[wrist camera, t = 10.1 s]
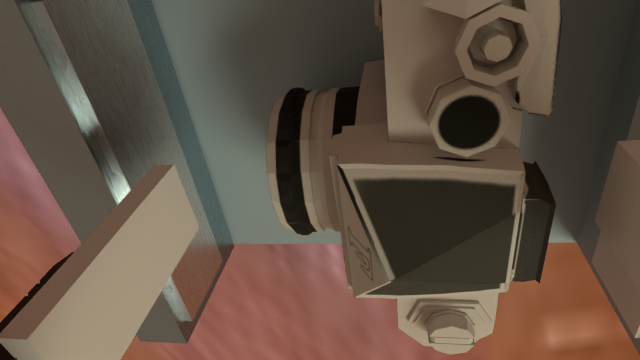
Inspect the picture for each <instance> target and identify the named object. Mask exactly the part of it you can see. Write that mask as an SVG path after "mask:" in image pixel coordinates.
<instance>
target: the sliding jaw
mask: <svg viewBox="0 0 640 360" xmlns="http://www.w3.org/2000/svg"><path fill="white" fill-rule="evenodd" d="M0 107H1V109H2V111H3V112H4V114H5V116H6V117H7V119H8V121H9V122H10V124H11V126H12V127H13V129H14V131H15V132H16V134H17V136H18V137H19V139H20V141H21V142H22V144H23V146H24V147H25V149H26V151H27V153H28V154H29V156H30V158H31V159H32V161H33V163H34V164H35V166H36V168H37V169H38V171H39V173H40V174H41V176H42V178H43V179H44V181H45V183H46V184H47V186H48V188H49V189H50V191H51V193H52V194H53V196H54V198H55V199H56V201H57V203H58V204H59V206H60V208H61V209H62V211H63V213H64V214H65V216H66V218H67V219H68V221H69V223H70V224H71V226H72V228H73V229H74V231H75V233H76V235H77V236H78V238H79V240H80V241H81V243H83V242H84V241H85V240H86V239H87V238H88V237H89V236H90V234H91V233H92V232H93V231H94V230H95V229H96V228H97V227H98V226H99V225H100V223H101V222H102V221H103V220H104V219H105V218H106V217H107V216H108V215H109V214H110V213H111V211H112V210H113V209H114V208H115V207H116V206H117V205H118V204H119V203H120V202H121V201H122V199H123V198H124V197H125V196H126V195H127V194H128V193H129V192H130V191H131V190H132V188H133V187H134V186H135V185H136V184H137V183H138V182H139V181H140V180H141V179H142V178H143V176H144V175H145V174H146V173H147V172H148V171H149V170H150V169H151V168H152V167H153V166H154V165H172V164H174V165H175V168H176V170H177V173H178V175H179V178H180V180H181V183H182V185H183V188H184V190H185V193H186V195H187V198H188V200H189V203H190V205H191V208H192V210H193V213H194V215H195V218H196V220H197V223H198V225H199V229H198V231H197V232H196V234H195V236H194V237H193V239H192V241H191V242H190V244H189V246H188V247H187V249H186V251H185V252H184V254H183V256H182V257H181V259H180V261H179V263H178V264H177V266H176V268H175V269H174V271H173V273H172V274H171V276H170V278H169V279H168V281H167V283H166V284H165V286H164V288H163V289H162V291H161V293H160V294H159V296H158V298H157V299H156V301H155V303H154V304H153V306H152V308H151V309H150V311H149V313H148V314H147V316H146V318H145V319H144V321H143V323H142V324H141V326H140V328H139V329H138V331H137V333H136V335H137V337H138V338H139V340H140V341H146V342H166V343H186V344H187V343H188V341H189V338H190V336H191V334H192V332H193V330H194V328H195V326H196V324H197V322H198V320H199V318H200V316H201V314H202V312H203V310H204V308H205V306H206V303H207V301H208V299H209V297H210V295H211V293H212V291H213V289H214V287H215V285H216V283H217V281H218V279H219V277H220V275H221V273H222V271H223V268H224V266H225V264H226V262H227V260H228V258H229V256H230V254H231V252H232V250H233V248H234V244H233V241H232V238H231V235H230V232H229V229H228V226H227V223H226V220H225V217H224V214H223V211H222V208H221V205H220V203H219V200H218V197H217V194H216V191H215V188H214V185H213V182H212V179H211V176H210V173H209V170H208V167H207V164H206V161H205V158H204V155H203V152H202V149H201V146H200V143H199V140H198V137H197V134H196V131H195V128H194V126H193V123H192V120H191V117H190V114H189V111H188V108H187V105H186V102H185V99H184V96H183V93H182V90H181V87H180V84H179V81H178V78H177V75H176V72H175V69H174V66H173V63H172V60H171V57H170V54H169V51H168V49H167V46H166V43H165V40H164V37H163V34H162V31H161V28H160V25H159V22H158V19H157V16H156V13H155V10H154V7H153V4H152V1H151V0H0Z"/></svg>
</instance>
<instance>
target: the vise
mask: <svg viewBox="0 0 640 360" xmlns="http://www.w3.org/2000/svg"><path fill="white" fill-rule="evenodd" d="M151 1H152V4H153V7H154V10H155V13H156V16H157V19H158V22H159V25H160V28H161V31H162V34H163V37H164V40H165V43H166V46H167V49H168V51H169V54H170V57H171V60H172V63H173V66H174V69H175V72H176V75H177V78H178V81H179V84H180V87H181V90H182V93H183V96H184V99H185V102H186V105H187V108H188V111H189V114H190V117H191V120H192V123H193V126H194V128H195V131H196V134H197V137H198V140H199V143H200V146H201V149H202V152H203V155H204V158H205V161H206V164H207V167H208V170H209V173H210V176H211V179H212V182H213V185H214V188H215V191H216V194H217V197H218V200H219V203H220V205H221V208H222V211H223V214H224V217H225V220H226V223H227V226H228V229H229V232H230V235H231V238H232V241H233V244H342V241H341V234H340V232H336V231H334V230H333V229H328V230H327V231H325V232H312V233H311V234H310V235H300V234H297V233H296V232H294V231H292V230H289V229H287V228H285V227H284V225H283V224H282V223H281V222H280V221H279V220H278V218H277V215H276V212H275V210H274V207H273V204H272V201H271V196H270V190H269V184H268V178H267V163H266V140H267V131H268V123H269V117H270V114H271V111H272V109H273V106H274V103H275V101H277V100H278V99H280V98H281V97H283V96H285V95H286V94H287V93H288V91H289V90H291V89H292V88H298V87H300V88H304V89H305V90H306V91H307V90H321V91H322V92H328V91H329V90H331V89H332V88H345V87H357V86H360V84H361V80H362V74H363V69H364V64H365V63H367V62H372V61H378V60H383V59H384V42H383V31H382V32H380V33H379V28H378V27H376V26H375V14H374V0H151ZM561 7H562V30H561V39H560V48H559V56H558V65H557V74H556V82H555V91H554V100H553V109H552V117H550V116H542V115H534V114H528V113H527V112H526V111H525V110H524V109H523V114H522V125H521V135H520V142H519V151H520V154H521V158H522V161H524V162H527V163H531V164H533V163H534V162H535V161H536V162H537V164H538V166H539V168H540V169H541V171H542V173H543V174H544V176H545V178H546V180H547V182H548V184H549V187H550V190H551V192H552V195H553V197H554V200H555V203H556V208H555V213H554V217H553V222H552V227H551V232H550V236H549V241H548V242H577V243H578V245H579V247H580V249H581V251H582V252H583V254H584V256H585V258H586V260H587V261H588V263H589V265H590V267H591V269H592V270H593V272H594V274H595V276H596V278H597V279H598V281H599V283H600V285H601V287H602V288H603V290H604V292H605V294H606V295H607V297H608V299H609V301H610V303H611V304H612V306H613V308H614V310H615V312H616V313H617V315H618V317H619V319H620V321H621V322H622V324H623V326H624V328H625V330H626V331H627V333H628V335H629V337H630V339H631V340H632V342H633V344H634V346H635V347H636V349H637V351H638V353H639V355H640V292H639V290H638V289H637V287H636V286H635V284H634V282H633V281H632V279H631V278H630V276H629V275H628V273H627V271H626V270H625V268H624V267H623V265H622V264H621V262H620V260H619V259H618V257H617V256H616V254H615V253H614V251H613V249H612V248H611V246H610V245H609V243H608V241H607V240H606V238H605V237H604V235H603V234H602V232H601V230H600V229H599V227H598V226H597V224H596V223H595V217H596V214H597V210H598V207H599V203H600V200H601V196H602V193H603V189H604V186H605V182H606V179H607V175H608V172H609V168H610V165H611V162H612V158H613V155H614V151H615V148H616V144H617V141H632V140H640V0H561Z"/></svg>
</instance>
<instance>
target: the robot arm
mask: <svg viewBox="0 0 640 360" xmlns="http://www.w3.org/2000/svg"><path fill="white" fill-rule="evenodd" d="M595 223H596V224H597V226H598V227H599V229H600V230H601V232H602V234H603V235H604V237H605V238H606V240H607V241H608V243H609V245H610V246H611V248H612V249H613V251H614V253H615V254H616V256H617V257H618V259H619V260H620V262H621V264H622V265H623V267H624V268H625V270H626V271H627V273H628V275H629V276H630V278H631V279H632V281H633V282H634V284H635V286H636V287H637V289H638V290H639V292H640V140H632V141H617V144H616V148H615V151H614V155H613V158H612V162H611V165H610V168H609V172H608V175H607V179H606V182H605V186H604V189H603V193H602V196H601V200H600V203H599V207H598V210H597V214H596V217H595ZM198 229H199V225H198V223H197V220H196V218H195V215H194V213H193V210H192V208H191V205H190V203H189V200H188V198H187V195H186V193H185V190H184V188H183V185H182V183H181V180H180V178H179V175H178V173H177V170H176V168H175V165H174V164H172V165H154V166H153V167H152V168H151V169H150V170H149V171H148V172H147V173H146V174H145V175H144V176H143V178H142V179H141V180H140V181H139V182H138V183H137V184H136V185H135V186H134V187H133V188H132V190H131V191H130V192H129V193H128V194H127V195H126V196H125V197H124V198H123V199H122V201H121V202H120V203H119V204H118V205H117V206H116V207H115V208H114V209H113V210H112V211H111V213H110V214H109V215H108V216H107V217H106V218H105V219H104V220H103V221H102V222H101V223H100V225H99V226H98V227H97V228H96V229H95V230H94V231H93V232H92V233H91V234H90V236H89V237H88V238H87V239H86V240H85V241H84V242H83V243H82V244H81V245H80V246H79V248H78V249H77V250H76V251H75V252H72V253H71V254H69V255H68V256H67V257H65V258H64V259H62V260H61V261H60V262H58V263H57V264H55V265H54V266H53V267H52V268H51V269H50V270H49V271H48V272H47V273H46V275H45V276H44V277H43V278H42V279H41V280H40V283H39V284H36V285H35V286H34V287H33V288H32V289H31V291H30V292H29V293H28V296H25V297H24V298H23V299H22V300H21V301H20V302H19V303H18V304H17V305H16V307H15V308H14V309H13V310H12V311H11V312H10V313H9V314H8V315H7V316H6V317H5V318H4V319H3V320H2V321H1V323H0V360H121V358H122V356H123V355H124V353H125V351H126V350H127V348H128V346H129V345H130V343H131V341H132V339H133V338H134V336H135V334H136V333H137V331H138V329H139V328H140V326H141V324H142V323H143V321H144V319H145V318H146V316H147V314H148V313H149V311H150V309H151V308H152V306H153V304H154V303H155V301H156V299H157V298H158V296H159V294H160V293H161V291H162V289H163V288H164V286H165V284H166V283H167V281H168V279H169V278H170V276H171V274H172V273H173V271H174V269H175V268H176V266H177V264H178V263H179V261H180V259H181V257H182V256H183V254H184V252H185V251H186V249H187V247H188V246H189V244H190V242H191V241H192V239H193V237H194V236H195V234H196V232H197V231H198Z"/></svg>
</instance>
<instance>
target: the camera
mask: <svg viewBox="0 0 640 360" xmlns="http://www.w3.org/2000/svg"><path fill="white" fill-rule="evenodd" d="M374 14H375V26H376V27H378V28H379V33H380V32H382V31H383V42H384V59H383V60H378V61H372V62H367V63H365V64H364V69H363V74H362V80H361V84H360V86H357V87H345V88H332V89H331V90H329V91H328V92H322V91H321V90H307V91H306V90H305V89H304V88H300V87H298V88H292V89H291V90H289V91H288V93H287V94H286V95H285V96H283V97H281V98H280V99H278V100H277V101H275V103H274V106H273V109H272V111H271V114H270V117H269V123H268V131H267V140H266V163H267V178H268V184H269V190H270V196H271V201H272V204H273V207H274V210H275V212H276V215H277V218H278V220H279V221H280V222H281V223H282V224H283V225H284V227H285V228H287V229H289V230H292V231H294V232H296V233H297V234H300V235H310V234H311V233H312V232H325V231H327V230H328V229H333V230H334V231H336V232H340V234H341V241H342V248H343V255H344V262H345V269H346V276H347V283H348V289H353V294H354V297H367V298H397V306H398V325H399V329H400V330H402V331H403V332H405V333H406V334H408V335H409V336H410V337H412V338H413V339H415V340H416V341H418V342H419V343H421V344H422V345H423V346H432V347H433V348H434V349H435V350H437V351H440V352H444V353H447V354H450V355H451V354H458V353H464V352H467V351H468V350H470V349H471V348H472V347H473V346H474V345H475V344H474V342H477V340H479V339H481V338H483V337H485V336H487V335H489V334H491V333H493V328H494V322H495V316H496V308H497V301H498V294H499V293H500V292H508V288H509V283H510V281H521V282H524V281H530V280H536V281H537V282H539V283H540V279H541V274H542V270H543V265H544V260H545V255H546V251H547V246H548V241H549V236H550V232H551V227H552V222H553V217H554V213H555V208H556V203H555V200H554V197H553V195H552V192H551V190H550V187H549V184H548V182H547V180H546V178H545V176H544V174H543V173H542V171H541V169H540V168H539V166H538V164H537V162H536V161H535V162H534V163H533V164H531V163H527V162H524V161H522V158H521V154H520V151H519V142H520V135H521V125H522V114H523V109H524V110H525V111H526V112H527V113H528V114H534V115H542V116H550V117H552V109H553V100H554V91H555V82H556V74H557V65H558V56H559V48H560V39H561V30H562V7H561V0H374Z"/></svg>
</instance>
